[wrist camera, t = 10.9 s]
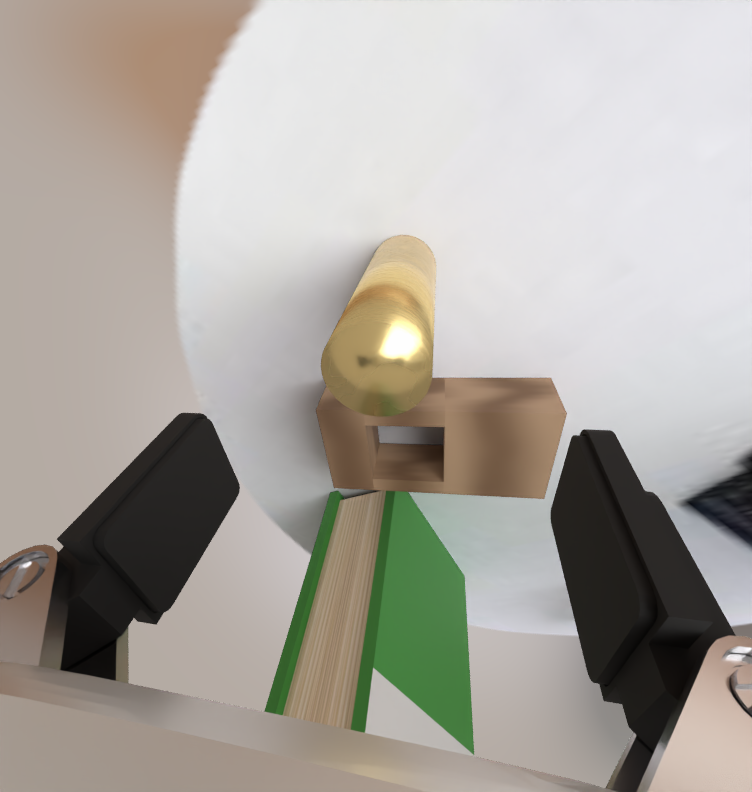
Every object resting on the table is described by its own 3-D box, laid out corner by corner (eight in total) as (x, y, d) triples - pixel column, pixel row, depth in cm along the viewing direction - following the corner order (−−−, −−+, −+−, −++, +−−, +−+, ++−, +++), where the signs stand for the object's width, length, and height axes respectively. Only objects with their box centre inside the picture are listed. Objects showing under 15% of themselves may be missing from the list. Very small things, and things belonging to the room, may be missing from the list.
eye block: (550, 377, 26) (566, 413, 22) (533, 459, 30) (544, 498, 27) (329, 377, 28) (315, 409, 25) (344, 452, 33) (334, 487, 30)
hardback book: (330, 492, 37) (209, 895, 17) (396, 475, 34) (340, 933, 15) (405, 583, 45) (380, 924, 26) (464, 576, 42) (484, 952, 23)
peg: (436, 232, 21) (432, 319, 12) (435, 299, 24) (432, 417, 14) (368, 237, 22) (311, 322, 12) (374, 301, 24) (330, 415, 15)
